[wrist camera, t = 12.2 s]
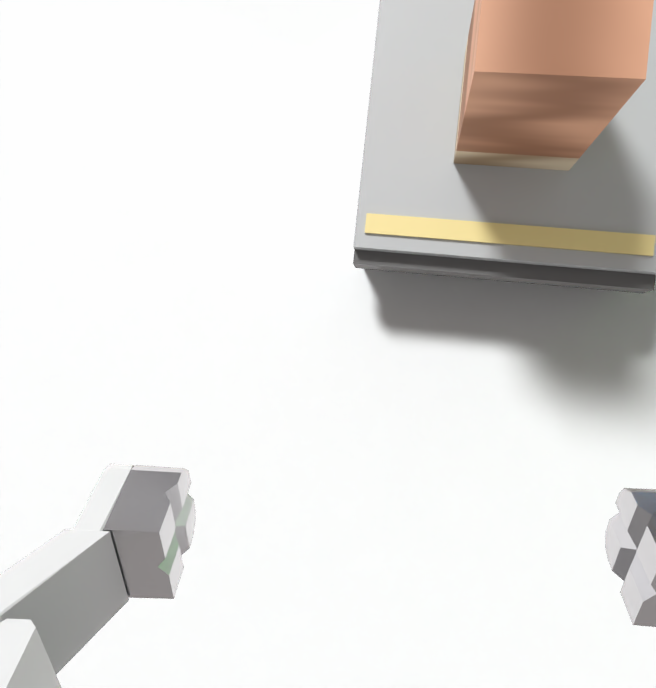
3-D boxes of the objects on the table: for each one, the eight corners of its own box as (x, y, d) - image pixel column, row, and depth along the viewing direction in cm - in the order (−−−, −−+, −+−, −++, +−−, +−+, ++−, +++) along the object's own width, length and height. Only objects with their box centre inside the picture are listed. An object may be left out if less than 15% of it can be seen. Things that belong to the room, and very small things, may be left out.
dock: (359, 274, 29) (351, 260, 25) (387, 13, 30) (384, -43, 25) (624, 298, 28) (661, 287, 24) (651, 22, 28) (693, -36, 24)
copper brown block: (453, 163, 25) (474, 71, 17) (465, 53, 25) (491, -90, 17) (569, 170, 24) (645, 78, 16) (580, 58, 24) (662, -87, 17)
